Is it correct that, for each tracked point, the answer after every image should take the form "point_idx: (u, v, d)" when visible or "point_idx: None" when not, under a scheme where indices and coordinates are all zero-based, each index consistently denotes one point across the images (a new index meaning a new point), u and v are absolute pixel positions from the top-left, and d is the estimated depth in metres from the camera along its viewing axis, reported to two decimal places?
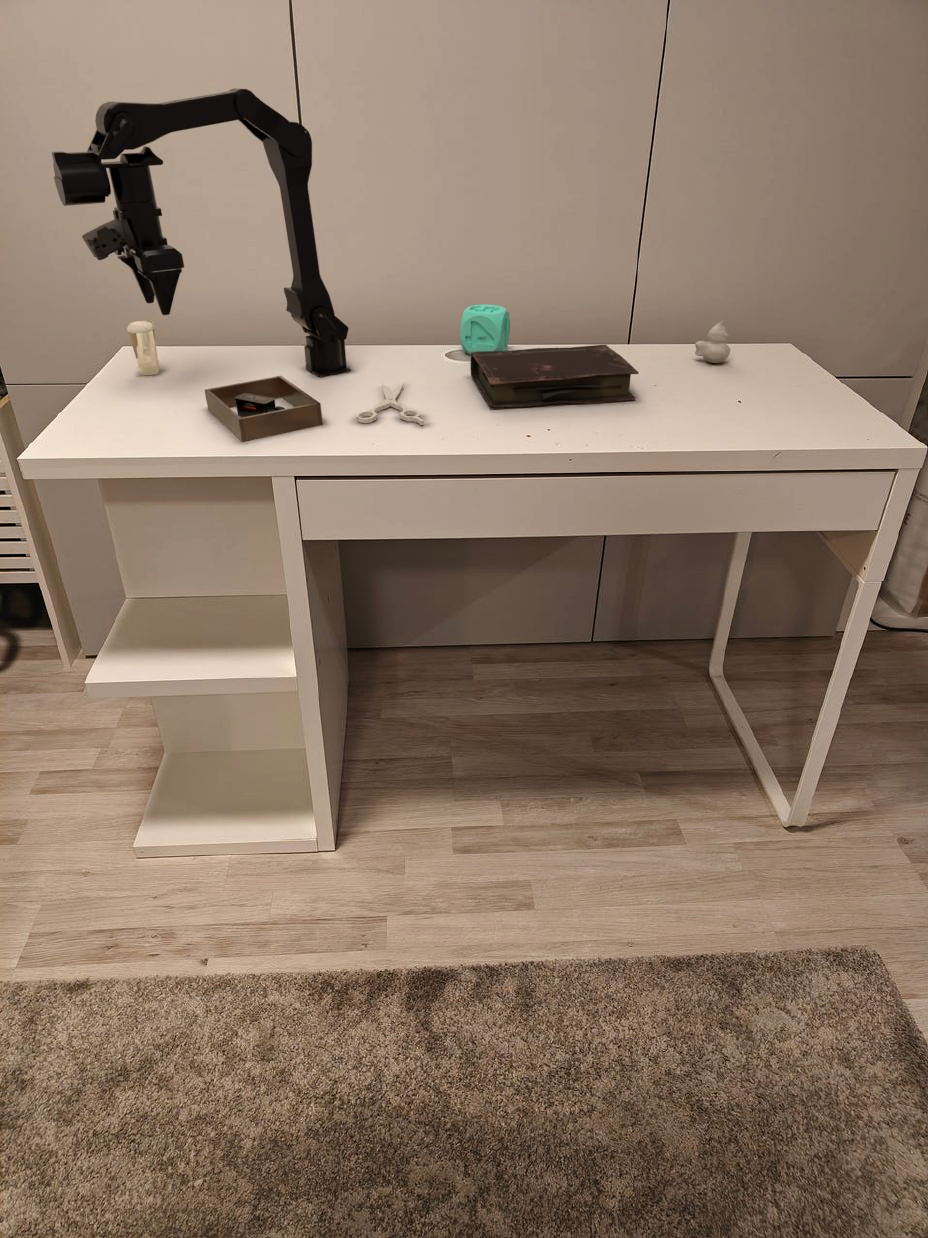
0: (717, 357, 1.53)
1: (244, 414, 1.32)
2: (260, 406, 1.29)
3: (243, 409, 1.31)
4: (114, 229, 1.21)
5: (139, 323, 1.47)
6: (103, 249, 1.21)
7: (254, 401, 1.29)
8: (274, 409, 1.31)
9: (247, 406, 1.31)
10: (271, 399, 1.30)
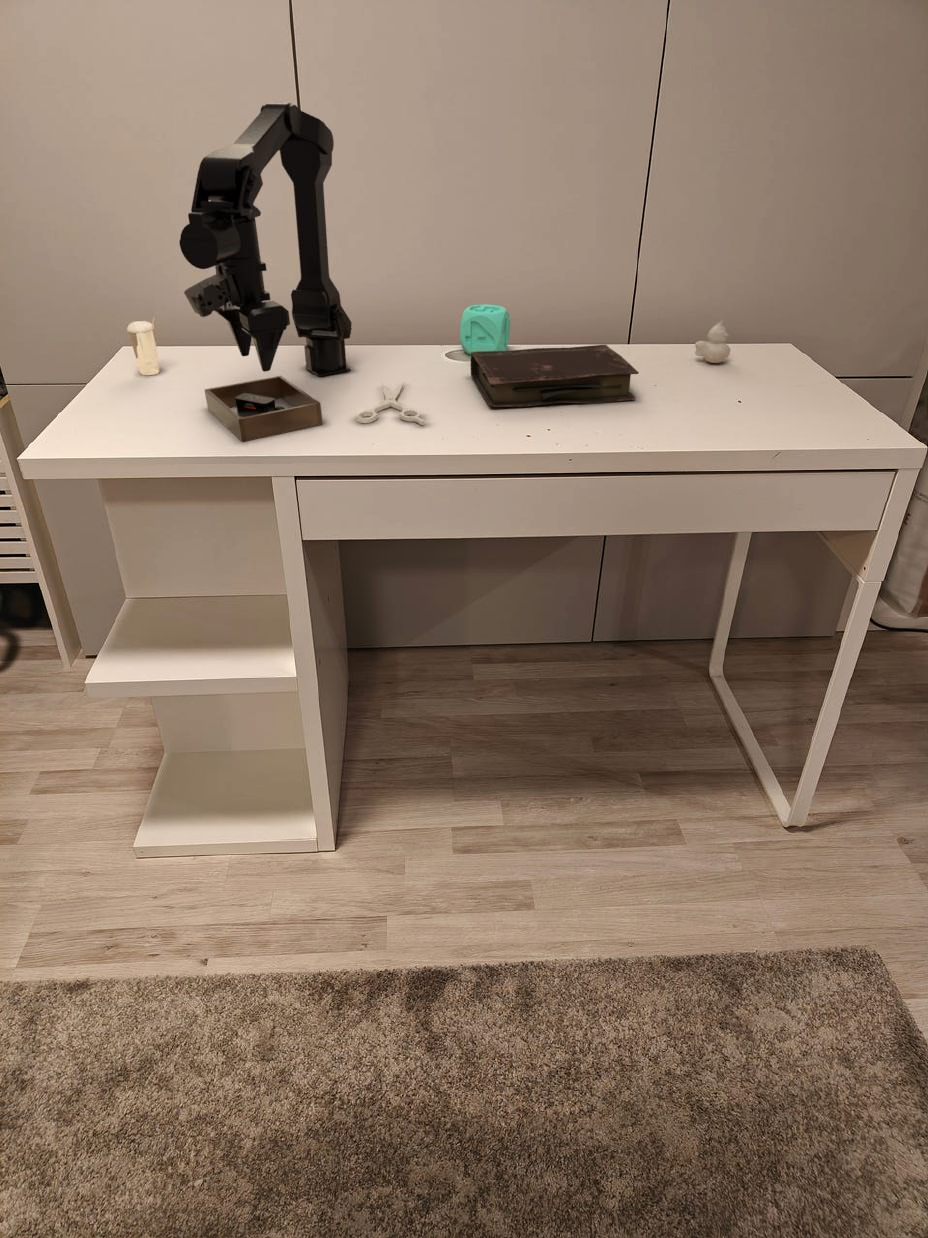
0: (717, 357, 1.53)
1: (244, 414, 1.32)
2: (260, 406, 1.29)
3: (243, 409, 1.31)
4: (219, 286, 1.17)
5: (139, 323, 1.47)
6: (208, 307, 1.16)
7: (254, 401, 1.29)
8: (274, 409, 1.31)
9: (247, 406, 1.31)
10: (271, 399, 1.30)
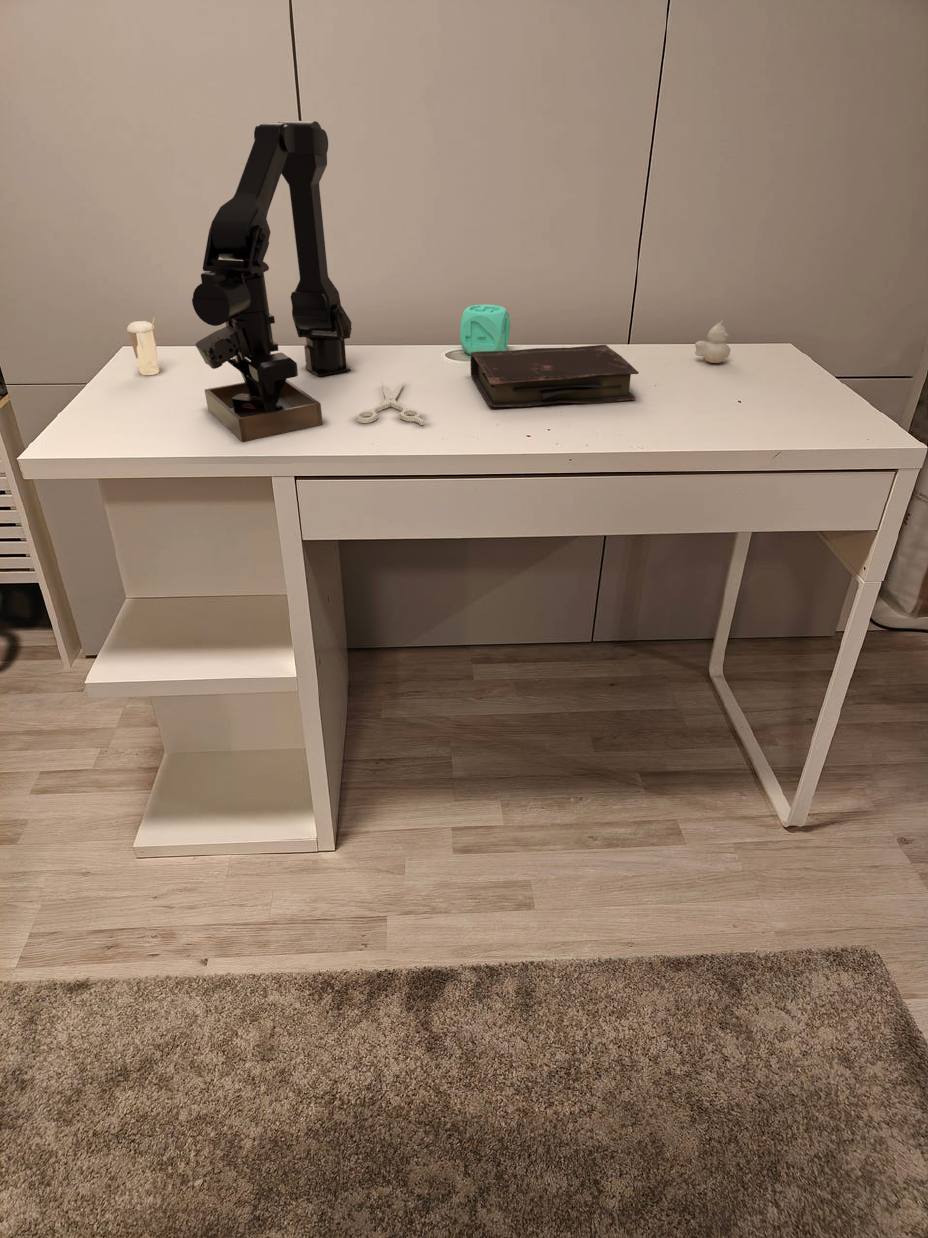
0: (717, 357, 1.53)
1: (242, 414, 1.32)
2: (259, 405, 1.30)
3: (241, 409, 1.31)
4: (230, 339, 1.21)
5: (139, 323, 1.47)
6: (219, 360, 1.21)
7: (253, 401, 1.30)
8: None
9: (245, 406, 1.31)
10: None
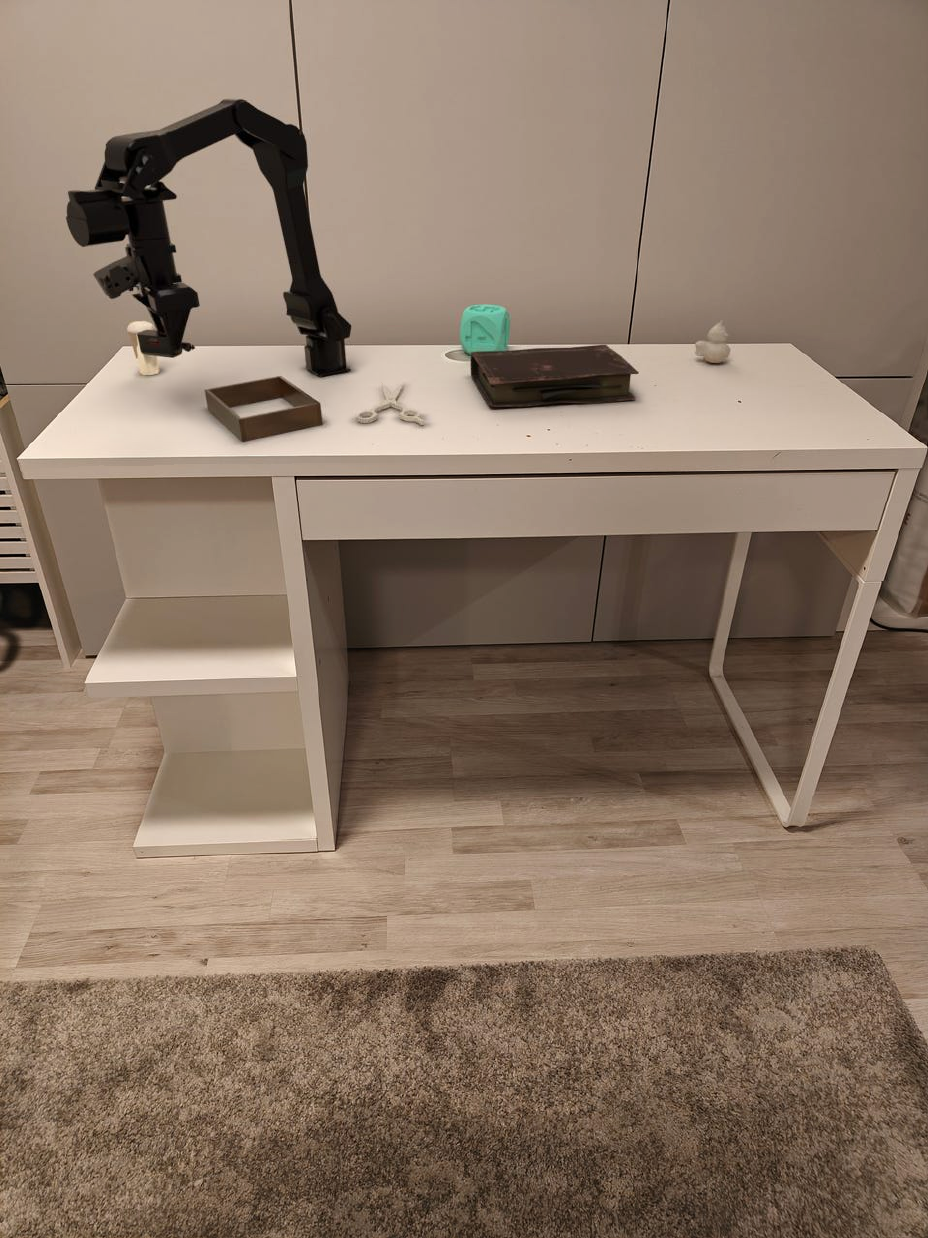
0: (717, 357, 1.53)
1: (148, 351, 1.27)
2: (164, 340, 1.25)
3: (146, 345, 1.27)
4: (127, 267, 1.17)
5: (139, 323, 1.47)
6: (116, 288, 1.16)
7: (158, 336, 1.25)
8: None
9: (150, 342, 1.26)
10: None
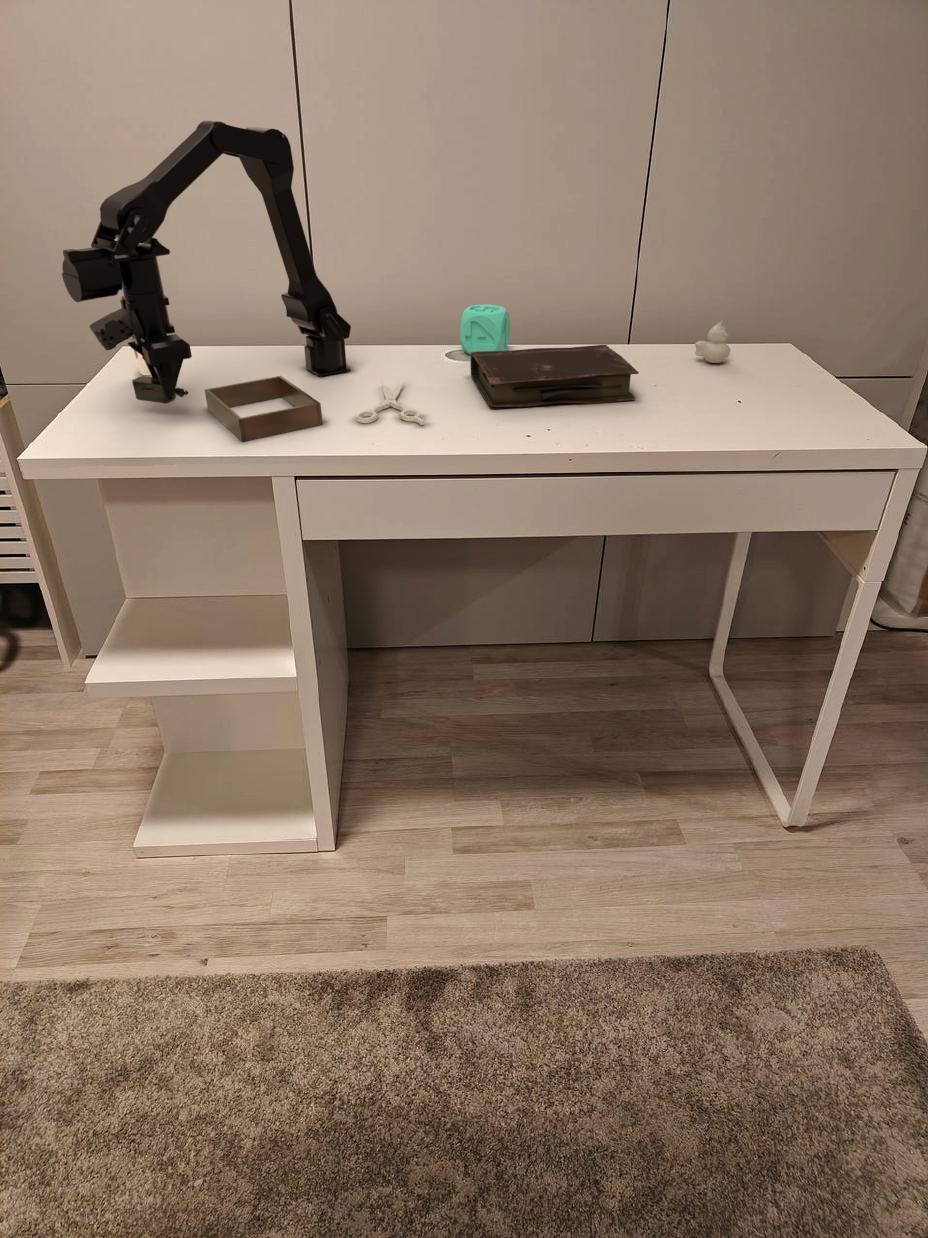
0: (717, 357, 1.53)
1: (142, 397, 1.32)
2: (158, 387, 1.30)
3: (141, 392, 1.31)
4: (122, 321, 1.21)
5: None
6: (111, 341, 1.21)
7: (152, 383, 1.30)
8: None
9: (145, 388, 1.31)
10: None
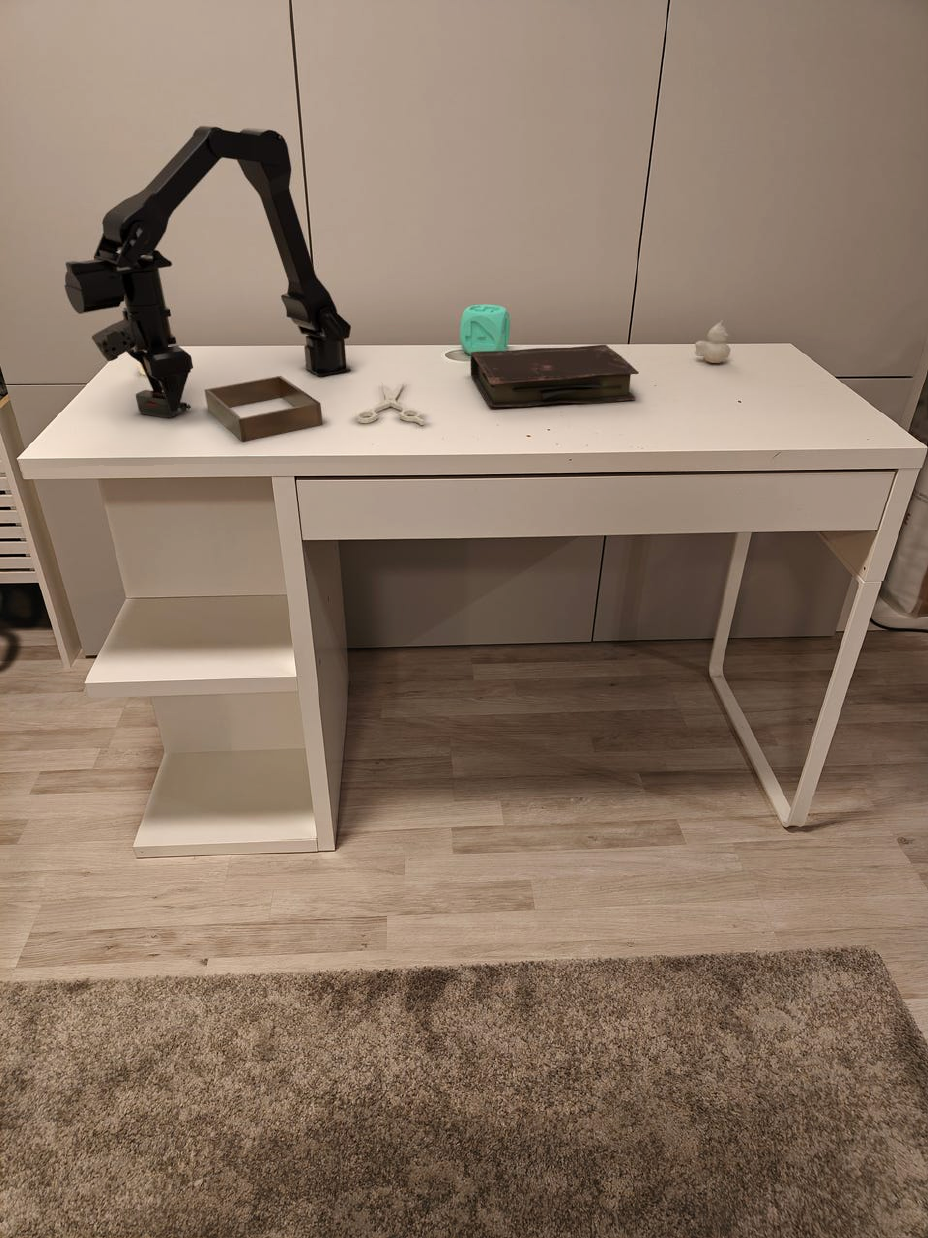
0: (717, 357, 1.53)
1: (146, 411, 1.33)
2: (161, 402, 1.31)
3: (144, 406, 1.33)
4: (124, 332, 1.22)
5: None
6: (113, 352, 1.22)
7: (155, 397, 1.31)
8: None
9: (148, 402, 1.32)
10: None
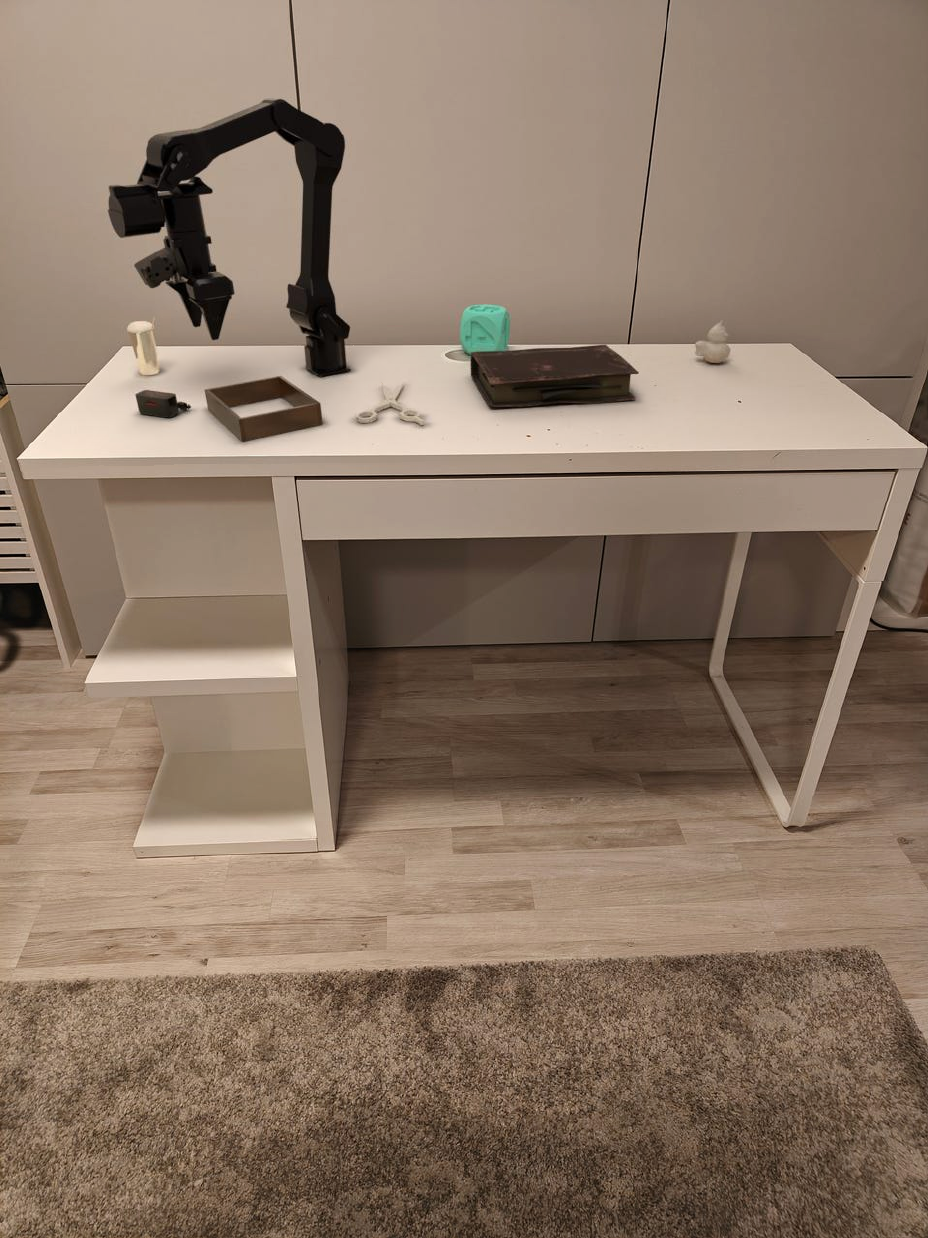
0: (717, 357, 1.53)
1: (146, 411, 1.33)
2: (161, 402, 1.31)
3: (144, 406, 1.33)
4: (166, 258, 1.24)
5: (139, 323, 1.47)
6: (156, 278, 1.24)
7: (155, 397, 1.31)
8: (176, 404, 1.33)
9: (148, 402, 1.32)
10: (172, 394, 1.32)
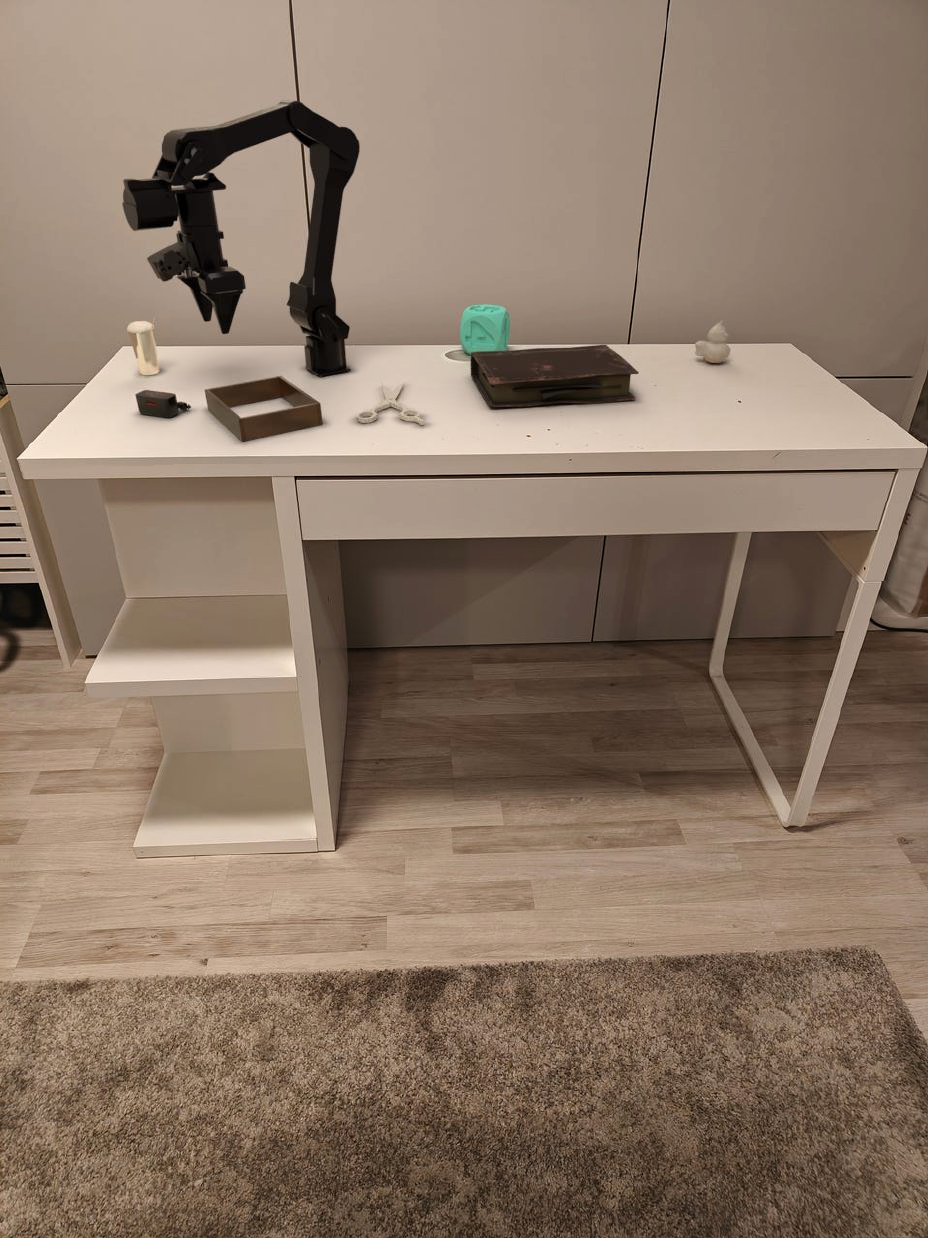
0: (717, 357, 1.53)
1: (146, 411, 1.33)
2: (161, 402, 1.31)
3: (144, 406, 1.33)
4: (179, 252, 1.26)
5: (139, 323, 1.47)
6: (169, 271, 1.25)
7: (155, 397, 1.31)
8: (176, 404, 1.33)
9: (148, 402, 1.32)
10: (172, 394, 1.32)
